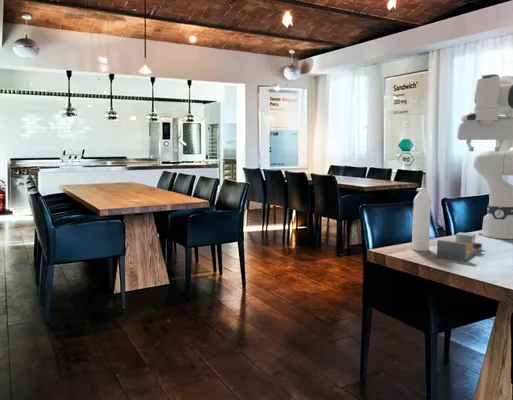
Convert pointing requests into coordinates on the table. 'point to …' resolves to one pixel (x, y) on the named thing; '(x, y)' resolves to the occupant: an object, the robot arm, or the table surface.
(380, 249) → the table surface
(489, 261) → the table surface
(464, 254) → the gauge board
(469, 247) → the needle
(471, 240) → the tan block
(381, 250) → the table surface
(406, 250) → the table surface
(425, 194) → the water bottle
